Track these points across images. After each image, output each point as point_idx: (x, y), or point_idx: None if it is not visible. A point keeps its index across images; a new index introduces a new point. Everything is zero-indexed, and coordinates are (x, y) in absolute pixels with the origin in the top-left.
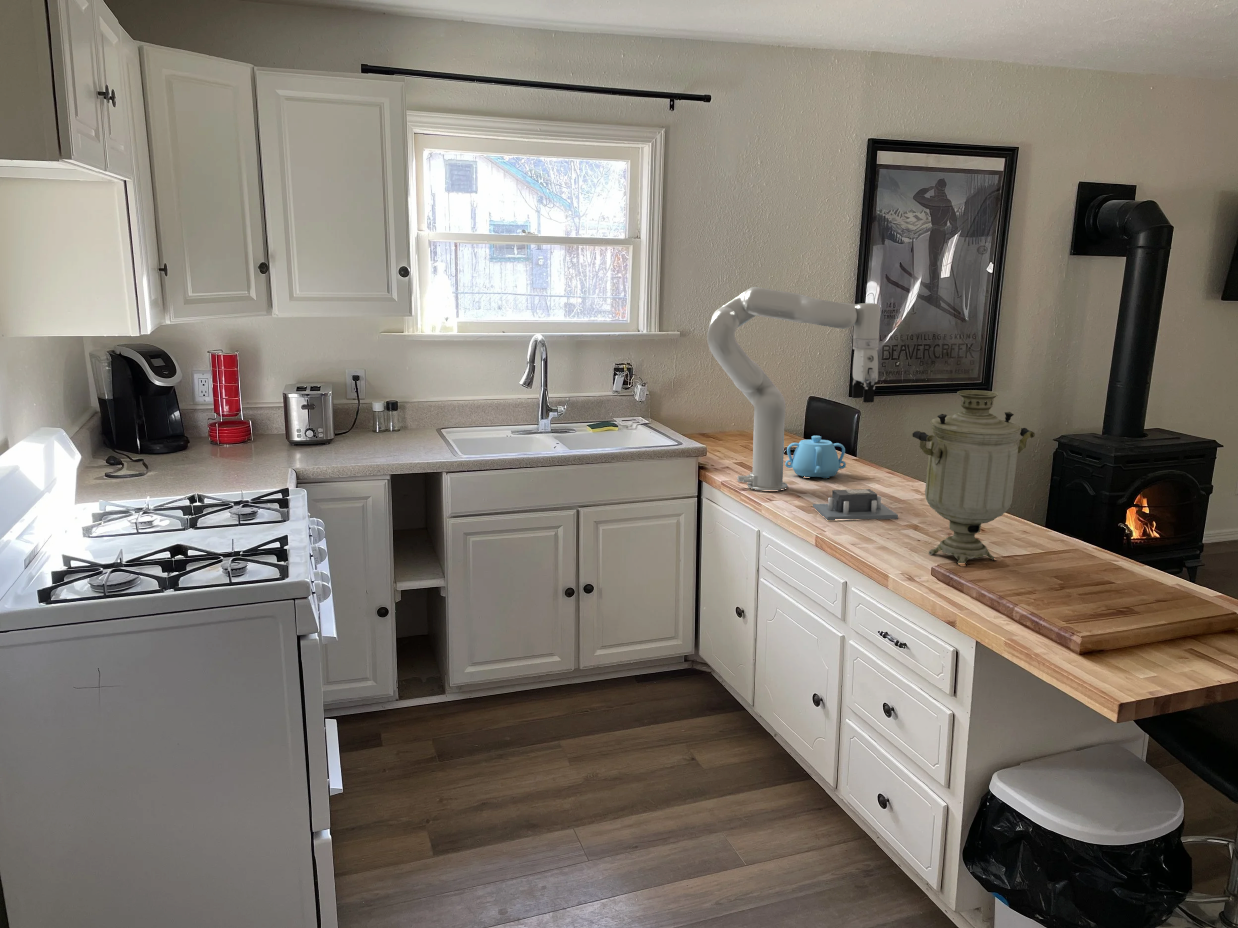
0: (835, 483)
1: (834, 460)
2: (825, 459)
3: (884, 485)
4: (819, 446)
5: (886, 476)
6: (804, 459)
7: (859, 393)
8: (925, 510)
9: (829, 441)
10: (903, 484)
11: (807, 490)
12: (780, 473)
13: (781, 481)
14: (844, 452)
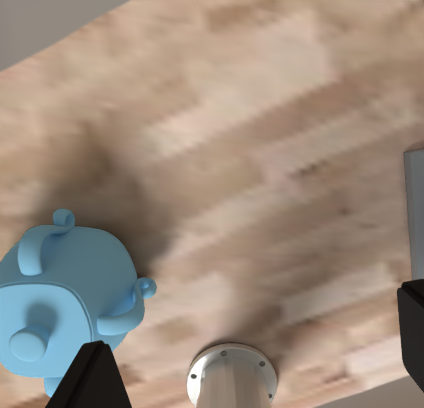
0: (166, 233)
1: (107, 255)
2: (119, 283)
3: (171, 104)
4: (94, 323)
5: (51, 80)
6: (122, 337)
7: (103, 403)
8: None
9: (12, 290)
10: (150, 44)
11: (248, 301)
12: (255, 388)
13: (247, 368)
14: (49, 228)
